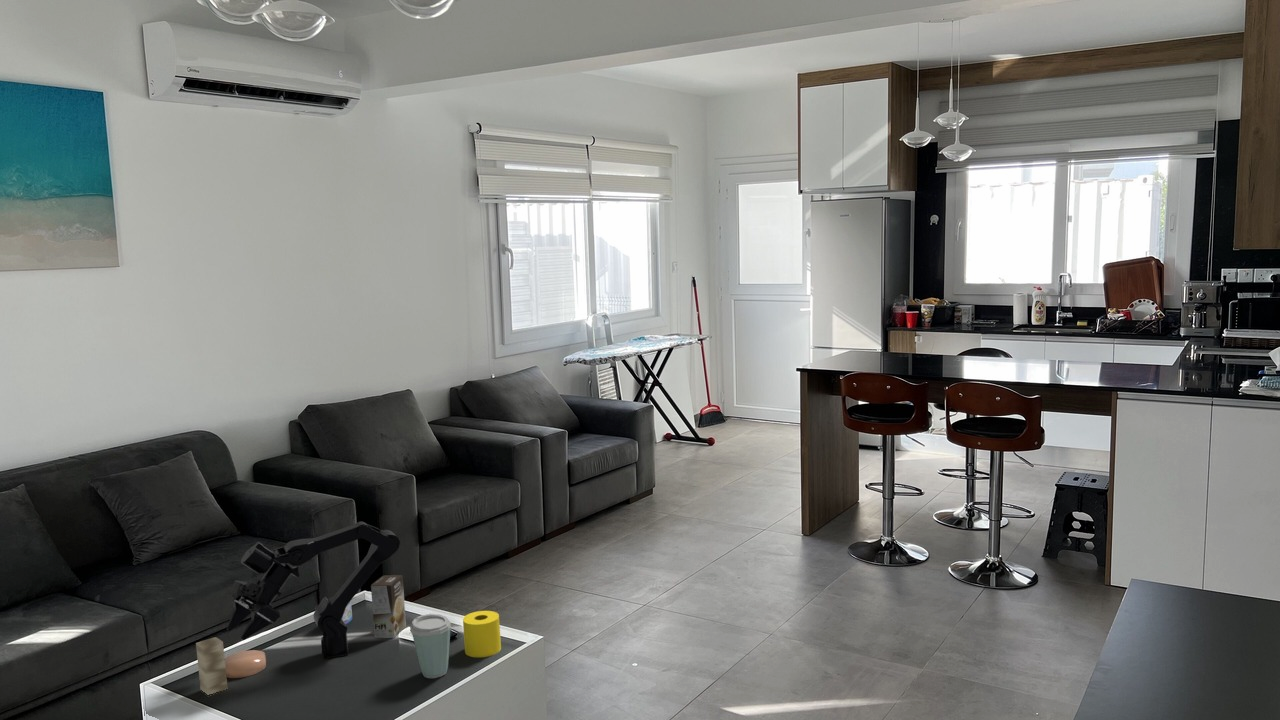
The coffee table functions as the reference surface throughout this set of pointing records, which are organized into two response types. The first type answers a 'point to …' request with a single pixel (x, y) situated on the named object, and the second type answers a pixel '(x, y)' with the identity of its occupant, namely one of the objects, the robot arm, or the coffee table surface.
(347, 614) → the medicine box
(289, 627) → the coffee table surface
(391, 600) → the coffee box
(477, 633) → the yellow toilet paper roll
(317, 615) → the robot arm
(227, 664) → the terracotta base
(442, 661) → the disposable coffee cup
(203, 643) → the birch block
